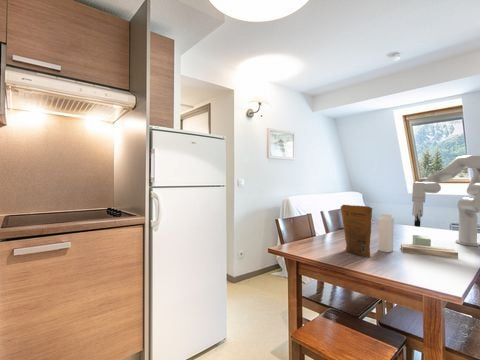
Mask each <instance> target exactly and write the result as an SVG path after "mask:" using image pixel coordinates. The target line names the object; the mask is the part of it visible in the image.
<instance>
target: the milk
mask: <svg viewBox="0 0 480 360" xmlns="http://www.w3.org/2000/svg"><path fill="white" fill-rule="evenodd" d="M380 215H381V216H380V217H379V218H378V251H381V252H386V253H391V252H393V251H394V232H395V231H394V229H395V228H394V226H395V222H394V218H393V217H392V216H393V215H392V214H390V213H389V214H387V213H381V214H380Z"/></svg>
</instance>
